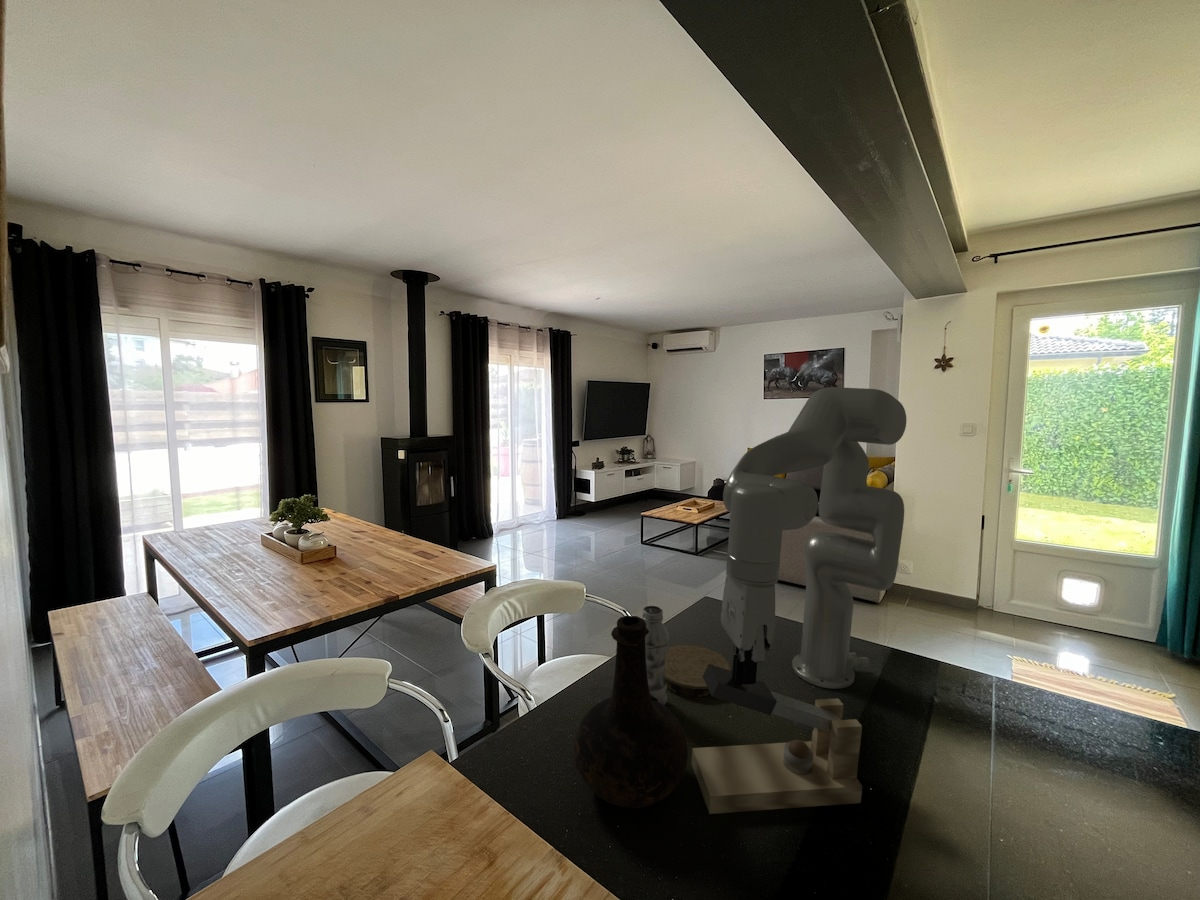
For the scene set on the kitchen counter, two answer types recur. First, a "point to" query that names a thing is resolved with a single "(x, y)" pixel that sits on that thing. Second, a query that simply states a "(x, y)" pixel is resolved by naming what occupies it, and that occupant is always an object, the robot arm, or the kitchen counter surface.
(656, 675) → the plastic bottle
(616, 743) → the glass bottle
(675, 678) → the brown round flat disc
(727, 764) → the nutcracker base
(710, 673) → the lever
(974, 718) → the kitchen counter surface
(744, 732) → the kitchen counter surface
